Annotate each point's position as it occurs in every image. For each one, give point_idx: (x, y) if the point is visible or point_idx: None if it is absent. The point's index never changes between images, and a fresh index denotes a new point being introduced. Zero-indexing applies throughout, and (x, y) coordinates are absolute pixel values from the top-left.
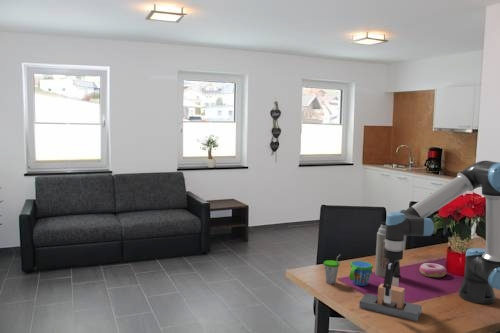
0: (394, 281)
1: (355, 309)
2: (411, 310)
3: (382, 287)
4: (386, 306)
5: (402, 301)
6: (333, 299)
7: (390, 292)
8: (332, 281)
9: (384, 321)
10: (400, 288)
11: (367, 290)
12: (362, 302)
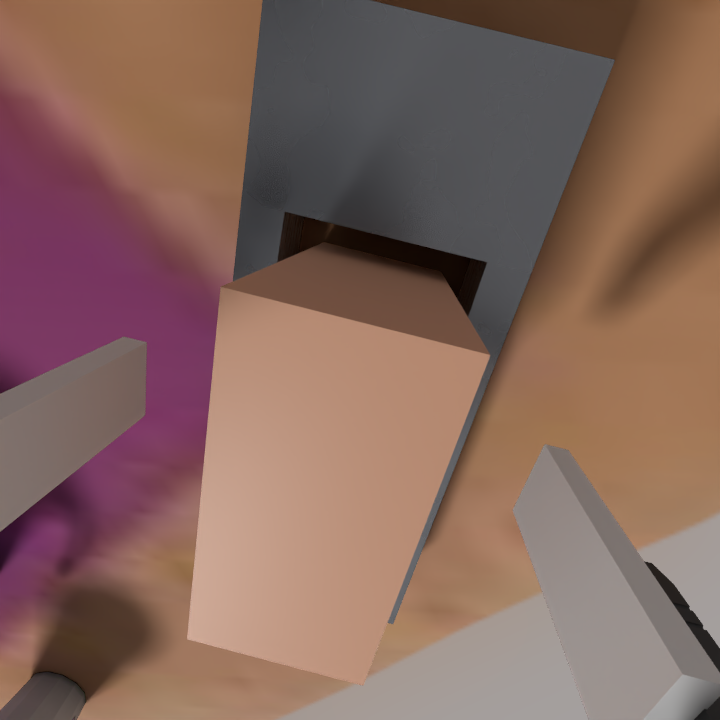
0: (8, 484)
1: (434, 594)
2: (494, 154)
3: (354, 641)
4: None
5: (402, 285)
6: (314, 690)
7: (657, 595)
8: (64, 709)
9: (624, 419)
10: (274, 378)
11: (36, 511)
12: (399, 601)
